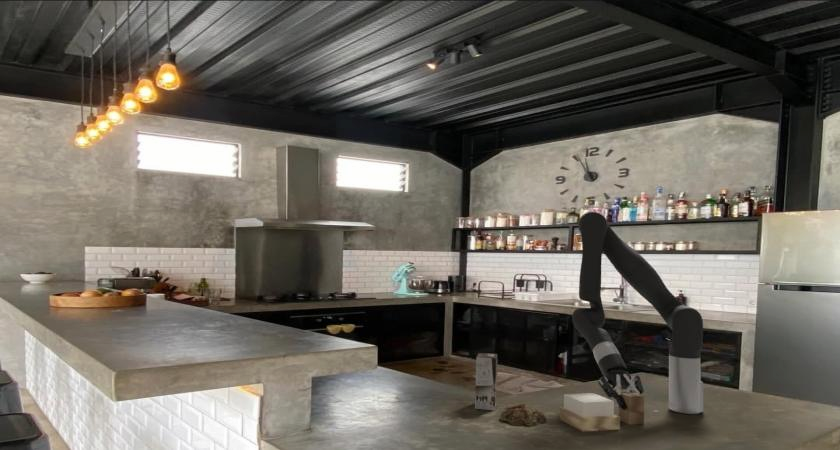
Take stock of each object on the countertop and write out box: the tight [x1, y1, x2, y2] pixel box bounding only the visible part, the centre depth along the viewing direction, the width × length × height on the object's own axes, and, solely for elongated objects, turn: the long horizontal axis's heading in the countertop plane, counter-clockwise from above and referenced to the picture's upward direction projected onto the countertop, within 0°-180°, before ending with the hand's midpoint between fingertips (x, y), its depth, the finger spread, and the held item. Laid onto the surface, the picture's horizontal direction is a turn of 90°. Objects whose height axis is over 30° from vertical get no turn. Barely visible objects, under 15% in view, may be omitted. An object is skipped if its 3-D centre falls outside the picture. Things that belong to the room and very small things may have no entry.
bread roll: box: [499, 403, 547, 427], centre depth 166 cm, size 13×12×5 cm
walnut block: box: [618, 391, 645, 426], centre depth 168 cm, size 5×5×8 cm
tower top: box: [563, 392, 615, 417], centre depth 164 cm, size 10×10×4 cm
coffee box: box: [474, 352, 498, 411], centre depth 181 cm, size 9×6×16 cm
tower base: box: [559, 406, 621, 433], centre depth 164 cm, size 12×12×4 cm
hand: (633, 408), depth 167 cm, fingers closed on walnut block, 5 cm apart
